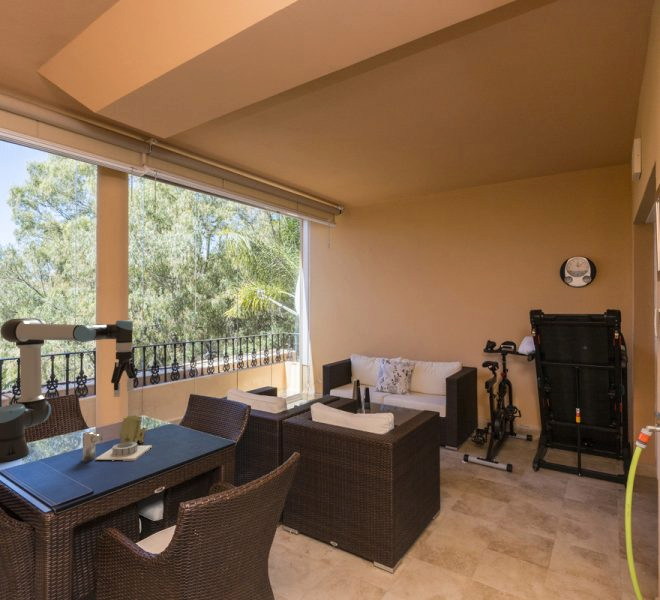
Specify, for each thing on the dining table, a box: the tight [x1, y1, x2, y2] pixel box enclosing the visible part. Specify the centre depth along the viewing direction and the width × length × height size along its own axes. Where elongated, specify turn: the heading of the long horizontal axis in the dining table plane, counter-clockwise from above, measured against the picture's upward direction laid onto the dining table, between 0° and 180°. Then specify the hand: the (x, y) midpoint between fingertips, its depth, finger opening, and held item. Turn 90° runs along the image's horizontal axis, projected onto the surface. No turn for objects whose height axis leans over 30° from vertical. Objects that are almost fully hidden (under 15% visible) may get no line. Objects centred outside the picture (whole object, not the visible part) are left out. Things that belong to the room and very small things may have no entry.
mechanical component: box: [119, 414, 147, 444], centre depth 211 cm, size 8×17×20 cm, turn 174°
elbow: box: [82, 430, 103, 462], centre depth 188 cm, size 8×5×12 cm, turn 90°
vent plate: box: [94, 442, 153, 462], centre depth 195 cm, size 18×18×4 cm
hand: (123, 393), depth 204 cm, fingers open, 13 cm apart
